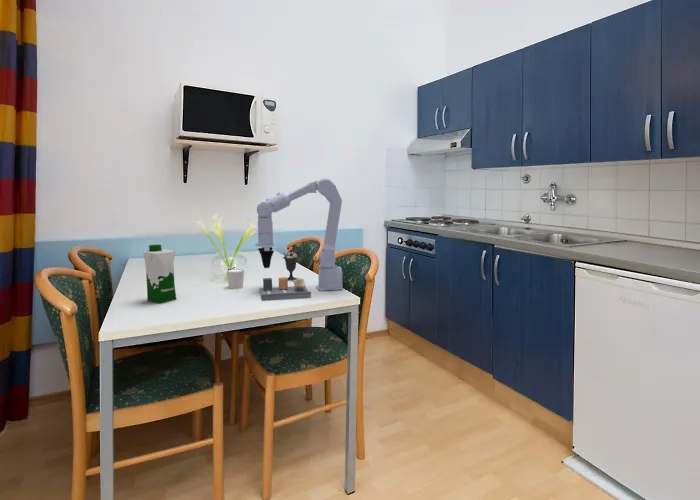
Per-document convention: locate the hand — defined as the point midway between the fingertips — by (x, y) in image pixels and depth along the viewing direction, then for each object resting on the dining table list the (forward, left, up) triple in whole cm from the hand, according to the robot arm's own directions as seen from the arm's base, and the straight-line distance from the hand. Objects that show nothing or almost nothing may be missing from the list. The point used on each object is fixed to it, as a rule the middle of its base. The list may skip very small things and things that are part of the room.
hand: (266, 266), depth 172 cm
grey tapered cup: (+12, -8, -10) cm, 17 cm away
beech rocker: (-12, +9, -6) cm, 16 cm away
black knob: (0, +6, -8) cm, 10 cm away
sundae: (-12, -18, -10) cm, 24 cm away
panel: (-6, +10, -9) cm, 15 cm away
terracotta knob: (-6, +5, -8) cm, 11 cm away
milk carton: (+38, +7, -10) cm, 40 cm away
